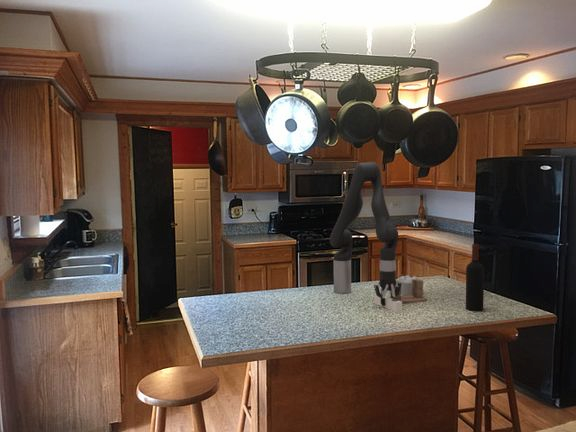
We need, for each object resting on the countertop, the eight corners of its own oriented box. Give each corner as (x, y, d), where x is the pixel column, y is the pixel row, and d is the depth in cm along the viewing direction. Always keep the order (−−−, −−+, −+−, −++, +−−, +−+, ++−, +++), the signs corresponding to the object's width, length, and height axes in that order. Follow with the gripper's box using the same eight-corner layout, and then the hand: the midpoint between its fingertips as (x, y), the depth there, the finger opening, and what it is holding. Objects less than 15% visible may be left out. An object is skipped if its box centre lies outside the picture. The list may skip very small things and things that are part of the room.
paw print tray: (404, 296, 245) (404, 280, 244) (392, 290, 257) (392, 274, 257) (423, 295, 248) (423, 278, 247) (410, 289, 260) (410, 273, 259)
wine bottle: (462, 309, 220) (463, 244, 218) (469, 305, 226) (470, 242, 223) (479, 312, 215) (480, 246, 213) (485, 308, 221) (487, 243, 218)
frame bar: (374, 303, 234) (374, 294, 233) (379, 302, 235) (379, 293, 235) (396, 311, 220) (396, 301, 219) (402, 310, 221) (402, 300, 221)
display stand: (386, 299, 240) (386, 280, 240) (416, 296, 245) (416, 277, 244) (396, 304, 231) (396, 284, 230) (427, 301, 235) (427, 281, 235)
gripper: (397, 266, 231) (397, 301, 233) (370, 268, 228) (370, 304, 229) (405, 269, 224) (405, 305, 226) (377, 271, 220) (377, 308, 222)
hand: (387, 304), depth 227 cm, fingers closed on frame bar, 4 cm apart
